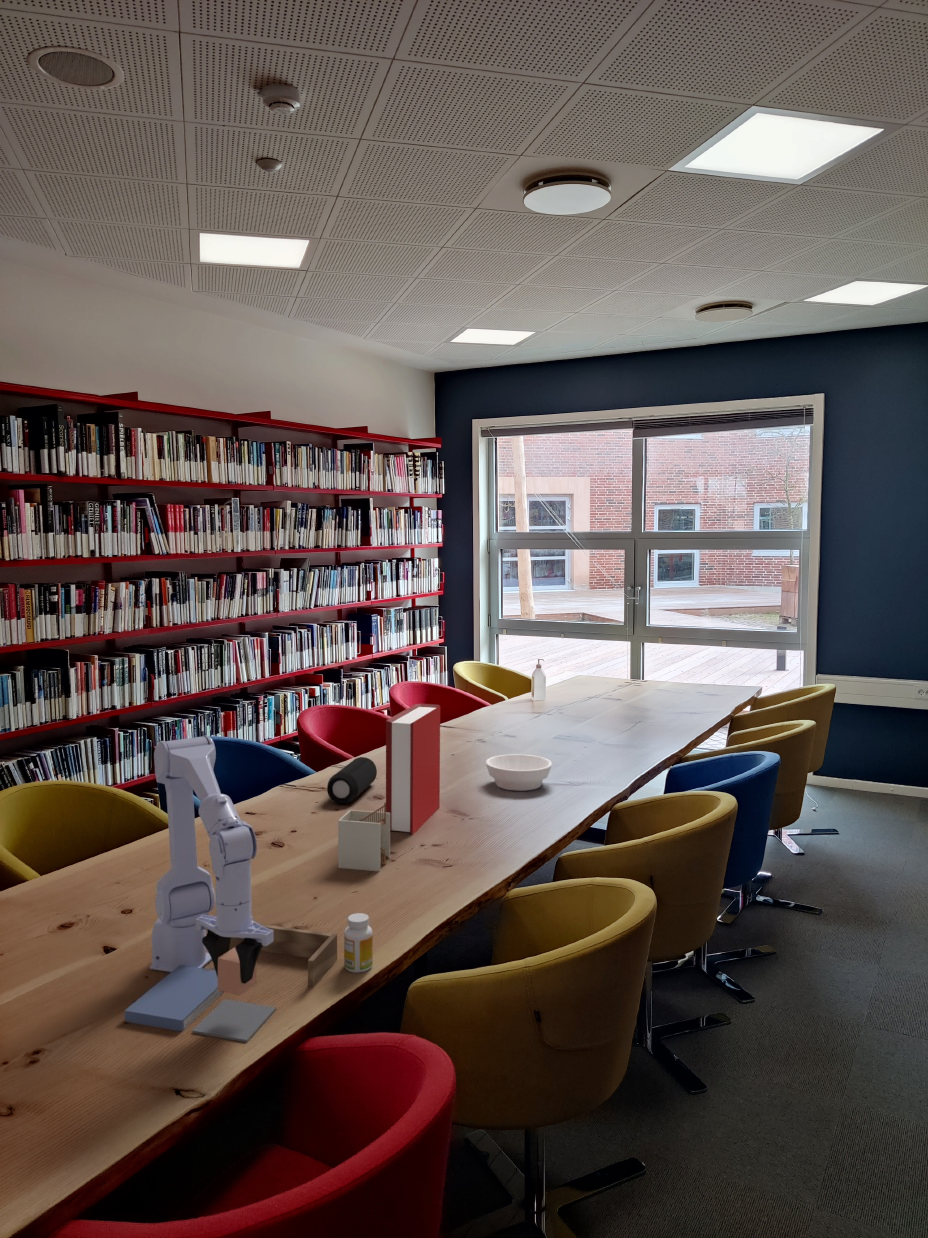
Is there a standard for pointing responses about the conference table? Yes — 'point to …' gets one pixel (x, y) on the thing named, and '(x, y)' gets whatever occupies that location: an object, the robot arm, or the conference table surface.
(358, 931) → the supplement bottle
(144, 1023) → the navy book
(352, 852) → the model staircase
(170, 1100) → the conference table surface
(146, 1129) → the conference table surface
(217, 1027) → the felt mat
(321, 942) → the walnut u-shaped open frame
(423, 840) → the conference table surface
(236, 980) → the terracotta block
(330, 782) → the portable speaker
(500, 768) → the bowl
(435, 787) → the book
